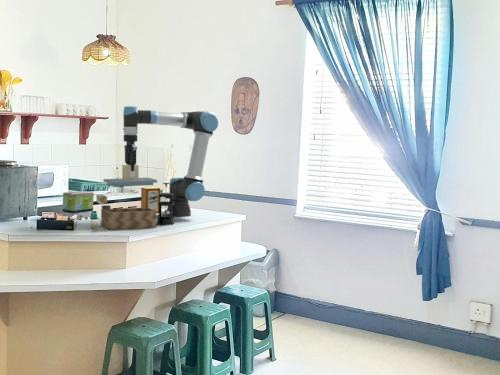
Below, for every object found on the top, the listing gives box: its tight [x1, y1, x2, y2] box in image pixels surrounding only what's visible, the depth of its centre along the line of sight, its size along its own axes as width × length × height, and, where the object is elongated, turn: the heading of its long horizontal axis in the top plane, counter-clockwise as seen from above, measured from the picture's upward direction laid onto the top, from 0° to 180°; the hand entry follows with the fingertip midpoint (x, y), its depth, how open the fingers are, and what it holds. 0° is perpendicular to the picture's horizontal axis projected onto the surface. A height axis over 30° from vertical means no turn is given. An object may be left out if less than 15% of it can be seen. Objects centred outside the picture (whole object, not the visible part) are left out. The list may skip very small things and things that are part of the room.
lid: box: [103, 164, 158, 188], centre depth 344 cm, size 26×14×11 cm, turn 121°
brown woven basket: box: [100, 204, 157, 231], centre depth 334 cm, size 26×17×10 cm, turn 119°
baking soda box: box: [140, 186, 161, 214], centre depth 384 cm, size 10×6×16 cm
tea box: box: [61, 190, 95, 220], centre depth 357 cm, size 15×10×15 cm, turn 151°
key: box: [95, 194, 108, 205], centre depth 342 cm, size 4×9×4 cm, turn 29°
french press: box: [156, 182, 176, 226], centre depth 347 cm, size 12×9×23 cm
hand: (130, 176), depth 344 cm, fingers closed on lid, 4 cm apart
